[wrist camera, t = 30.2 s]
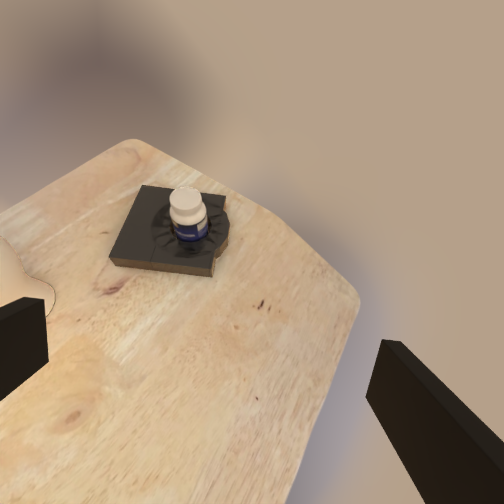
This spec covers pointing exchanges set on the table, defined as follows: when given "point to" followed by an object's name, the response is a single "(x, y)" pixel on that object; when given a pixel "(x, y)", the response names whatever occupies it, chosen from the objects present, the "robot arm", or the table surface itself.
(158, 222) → the bottle holder base
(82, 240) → the table surface
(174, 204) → the pill bottle
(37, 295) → the cup
